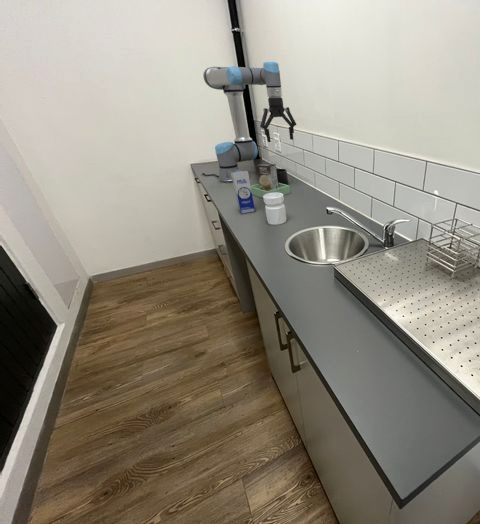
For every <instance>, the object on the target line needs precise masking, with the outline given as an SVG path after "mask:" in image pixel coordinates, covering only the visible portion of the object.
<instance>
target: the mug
mask: <svg viewBox="0 0 480 524" xmlns="http://www.w3.org/2000/svg"><path fill="white" fill-rule="evenodd" d="M276 172H277V179H278V183H281V184H285V185H289V179H288V171H287V169H286V168H276Z"/></svg>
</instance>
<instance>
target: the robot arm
mask: <svg viewBox="0 0 480 524" xmlns="http://www.w3.org/2000/svg"><path fill="white" fill-rule="evenodd" d="M280 72H281V71H280V65H279V63H278V62H277V61H264V62H263V65H262V67H244V66H211V67H207V68H206V69H205V70H204V71H203V73H202V75H203V80H204V82H205V84H206V85H207V86H208V87H209V88H211V89H213V90H217V91H218V90H219V91H220V90H221V91H223V94H224V95H225V96H226V97H227V102H228V107H229V112H230V117H231V122H232V125H233V131H234V136H235V138H234V140H233V141H224V142H220V143H218V144H215V147H214V150H215V155H216V159H217V163H218V168H219V172H218V175H217V174H214V173H212V174H211V173H210V174H206V173H205V172H202V175H204V176H206V177H210V176H212V177H213V176H215V177H216V178H218V181H219V182H220V183H233V180H232V176H231V173H235V170H240V168H239V165H238V163H242V162H246V161H253V160H255V159H256V158H257V156H258V151H259V150H258V146H257V143H256V142H255V141H254V140H253V138H252V137H250V134H249V133H250V132H249V127H248V122H247V117H246V113H245V107H244V101H243V96H242V95H243V94H244V90H245V89H246V85H250V86H254V85H255V86H256V85H257V86H265V88H266V94H267V101H268V108H266V107H264V108H263V114H262V118H261V122H260V124H259V128H261V129H263V131H264V132H263V133H264V135H265V136H266V141H267V143H271V142H272V141H271V134H270V129H269V126H270V124H271V123H272V121H273V119H274V118H282V119H283V120H284V121H285V122H286V123H287V125H288V133H289V139H290V140H291V141H293V140H294V133H295V130H294V127H296V126H297V123H296V120H295V119H294V116H293V115H292V113H291V110H290V107H289V106H285V107H284V99H283V91H282V81H281V73H280ZM284 112H285V113H286V114H285V113H284ZM269 113H270V114H269ZM268 114H269V116H268ZM267 117H268V118H267Z"/></svg>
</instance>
